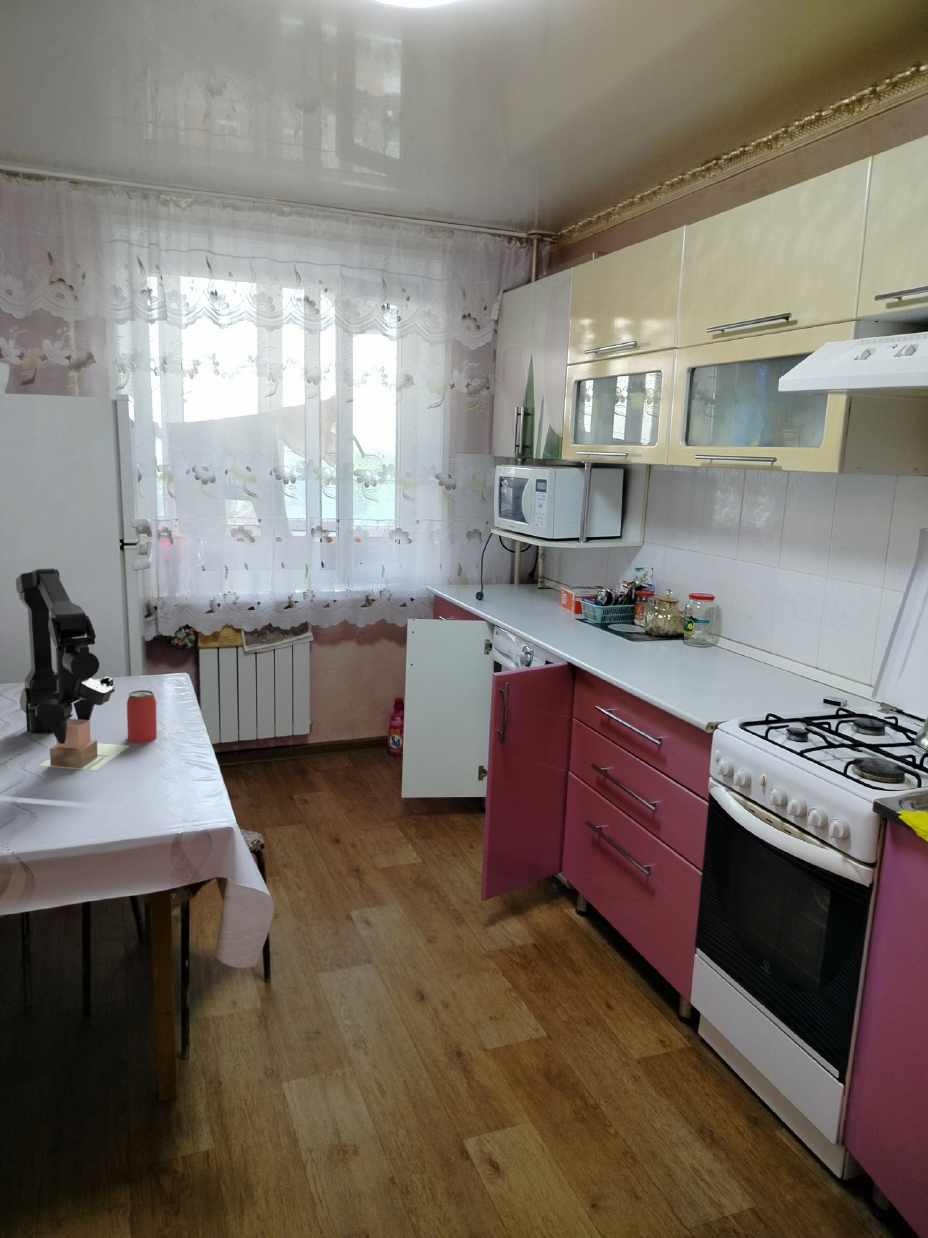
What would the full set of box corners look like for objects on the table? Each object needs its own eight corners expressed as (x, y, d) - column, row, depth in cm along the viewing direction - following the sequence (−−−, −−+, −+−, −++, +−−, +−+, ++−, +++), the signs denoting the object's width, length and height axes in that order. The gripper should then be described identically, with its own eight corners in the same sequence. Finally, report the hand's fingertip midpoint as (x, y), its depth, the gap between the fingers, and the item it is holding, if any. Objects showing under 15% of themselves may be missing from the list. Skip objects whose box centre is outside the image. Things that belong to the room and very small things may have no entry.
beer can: (147, 746, 202) (146, 698, 200) (122, 743, 203) (120, 695, 201) (162, 738, 208) (161, 691, 206) (137, 735, 210) (136, 688, 207)
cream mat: (38, 769, 185) (38, 765, 185) (77, 744, 201) (76, 741, 201) (95, 773, 184) (95, 770, 184) (130, 749, 200) (130, 745, 200)
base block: (50, 765, 185) (49, 748, 185) (67, 754, 192) (67, 738, 191) (81, 768, 185) (80, 750, 184) (97, 757, 192) (97, 740, 191)
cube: (56, 747, 185) (55, 725, 184) (68, 739, 190) (68, 718, 189) (78, 749, 185) (78, 727, 184) (90, 741, 190) (89, 720, 189)
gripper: (84, 682, 175) (86, 754, 178) (126, 660, 193) (128, 726, 196) (32, 678, 176) (35, 749, 179) (79, 657, 194) (82, 722, 197)
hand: (73, 736), depth 187 cm, fingers open, 9 cm apart
